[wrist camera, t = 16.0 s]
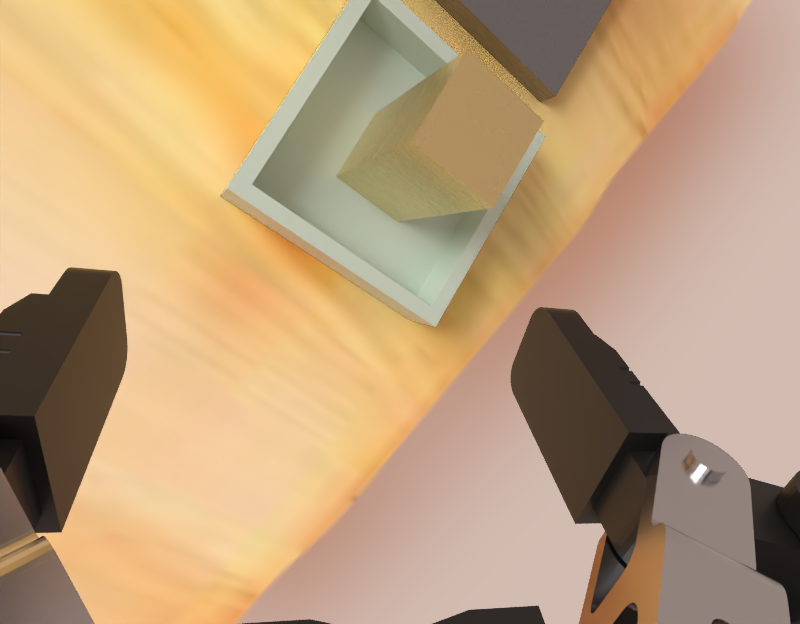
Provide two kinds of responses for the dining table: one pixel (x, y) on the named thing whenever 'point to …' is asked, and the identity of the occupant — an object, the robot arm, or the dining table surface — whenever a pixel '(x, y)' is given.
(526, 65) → the crank base
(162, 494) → the dining table surface
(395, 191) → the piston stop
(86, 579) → the dining table surface
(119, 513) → the dining table surface
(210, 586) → the dining table surface
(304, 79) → the tray
